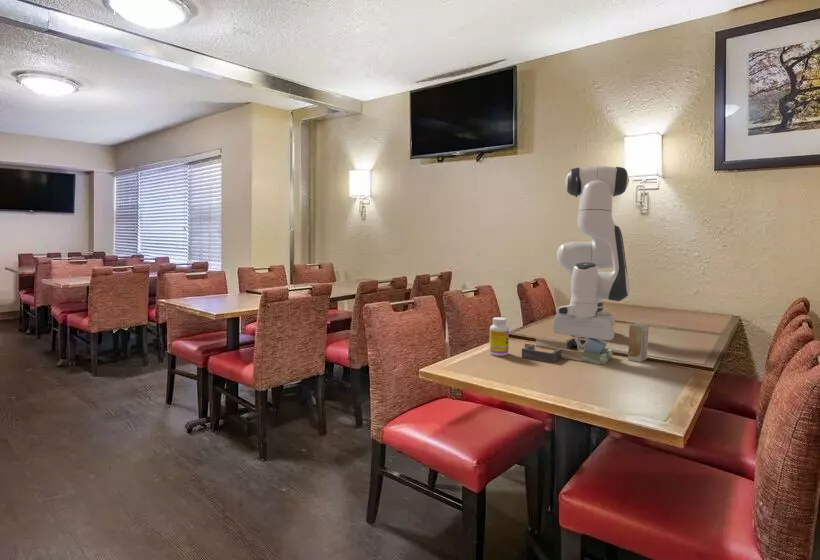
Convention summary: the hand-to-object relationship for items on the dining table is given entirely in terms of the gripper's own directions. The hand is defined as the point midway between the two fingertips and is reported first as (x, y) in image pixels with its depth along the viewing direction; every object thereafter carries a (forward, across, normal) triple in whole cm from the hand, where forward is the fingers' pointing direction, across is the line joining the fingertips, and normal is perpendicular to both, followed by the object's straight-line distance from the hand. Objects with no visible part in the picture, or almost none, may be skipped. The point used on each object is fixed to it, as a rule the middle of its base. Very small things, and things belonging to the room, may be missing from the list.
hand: (581, 349), depth 167 cm
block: (+2, -3, 0) cm, 4 cm away
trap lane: (+3, +6, 0) cm, 6 cm away
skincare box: (+3, -16, -8) cm, 18 cm away
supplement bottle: (+3, +25, +14) cm, 29 cm away
